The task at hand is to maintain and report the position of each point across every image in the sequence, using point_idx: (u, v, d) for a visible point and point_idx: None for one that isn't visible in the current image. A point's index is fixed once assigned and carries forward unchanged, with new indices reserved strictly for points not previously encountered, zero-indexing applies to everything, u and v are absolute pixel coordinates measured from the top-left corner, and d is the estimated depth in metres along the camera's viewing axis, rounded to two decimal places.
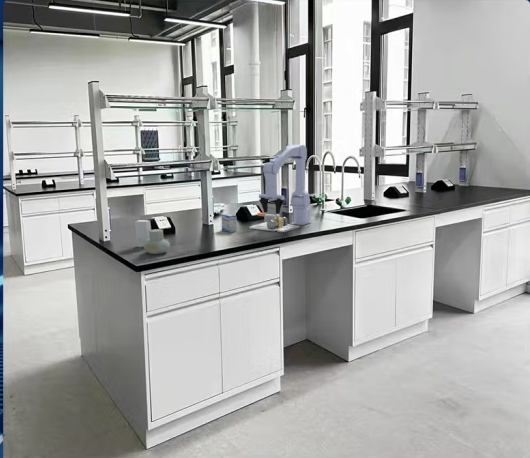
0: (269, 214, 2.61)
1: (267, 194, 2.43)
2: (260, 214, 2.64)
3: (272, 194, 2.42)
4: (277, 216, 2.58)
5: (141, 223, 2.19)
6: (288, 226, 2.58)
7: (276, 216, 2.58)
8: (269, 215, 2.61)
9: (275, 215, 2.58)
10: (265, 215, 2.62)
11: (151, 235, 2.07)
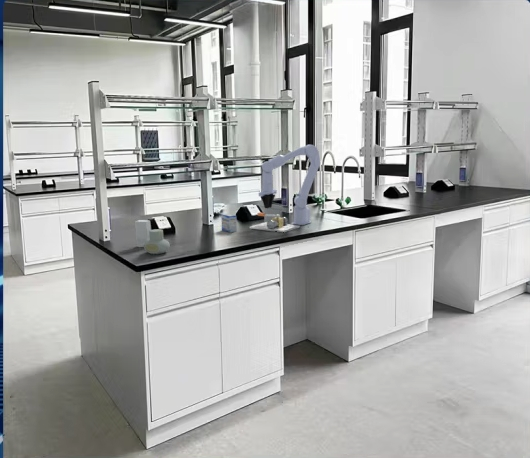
0: (269, 214, 2.61)
1: None
2: (260, 214, 2.64)
3: None
4: (277, 216, 2.58)
5: (141, 223, 2.19)
6: (288, 226, 2.58)
7: (276, 216, 2.58)
8: (269, 215, 2.61)
9: (275, 215, 2.58)
10: (265, 215, 2.62)
11: (151, 235, 2.07)
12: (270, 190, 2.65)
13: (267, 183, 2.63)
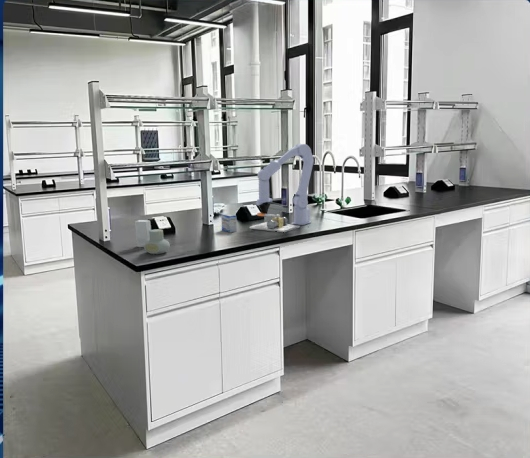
0: (269, 214, 2.61)
1: None
2: (260, 214, 2.64)
3: (259, 198, 2.64)
4: (277, 216, 2.58)
5: (141, 223, 2.19)
6: (288, 226, 2.58)
7: (276, 216, 2.58)
8: (269, 215, 2.61)
9: (275, 215, 2.58)
10: (265, 215, 2.62)
11: (151, 235, 2.07)
12: (267, 198, 2.62)
13: (264, 191, 2.61)
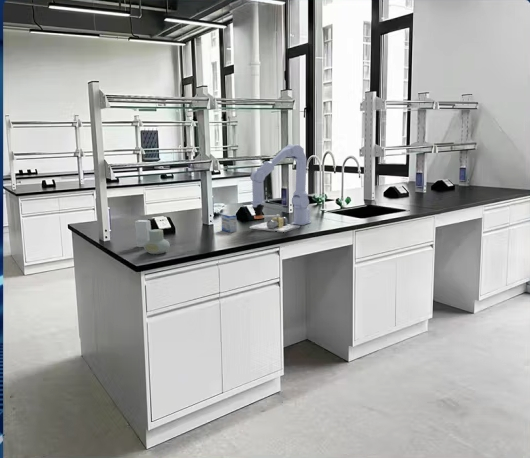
0: (268, 215, 2.58)
1: None
2: (258, 217, 2.56)
3: (253, 200, 2.56)
4: (279, 216, 2.58)
5: (141, 223, 2.19)
6: (288, 226, 2.58)
7: (278, 216, 2.58)
8: (269, 216, 2.57)
9: (277, 215, 2.57)
10: (264, 217, 2.57)
11: (151, 235, 2.07)
12: (262, 200, 2.56)
13: (259, 193, 2.54)
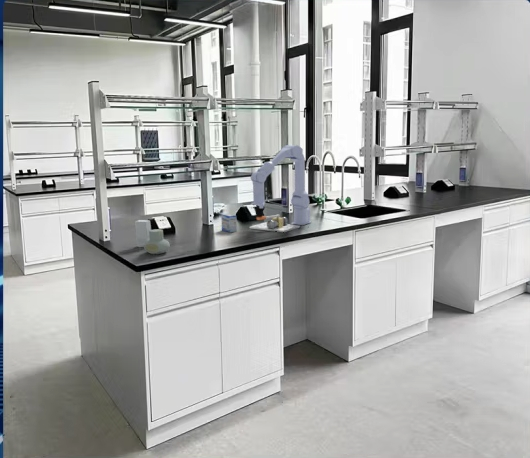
0: (269, 216, 2.56)
1: None
2: (262, 218, 2.52)
3: (255, 202, 2.52)
4: (279, 216, 2.58)
5: (141, 223, 2.19)
6: (288, 226, 2.58)
7: (279, 216, 2.58)
8: (270, 217, 2.56)
9: (278, 215, 2.57)
10: None
11: (151, 235, 2.07)
12: None
13: (261, 194, 2.51)
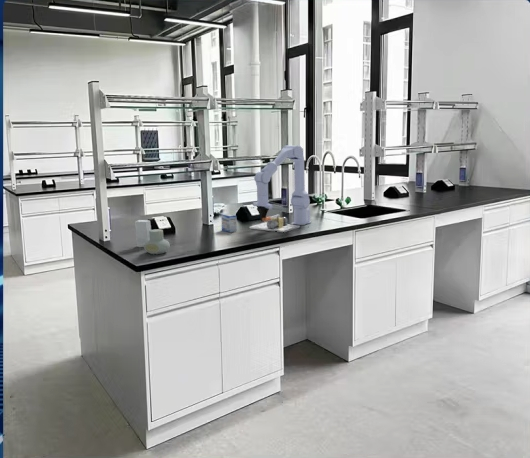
0: (272, 216, 2.54)
1: (258, 202, 2.49)
2: (268, 218, 2.50)
3: (262, 203, 2.48)
4: (279, 216, 2.59)
5: (141, 223, 2.19)
6: (288, 226, 2.58)
7: (279, 216, 2.58)
8: (273, 217, 2.55)
9: (279, 215, 2.58)
10: (270, 218, 2.52)
11: (151, 235, 2.07)
12: None
13: (266, 195, 2.47)
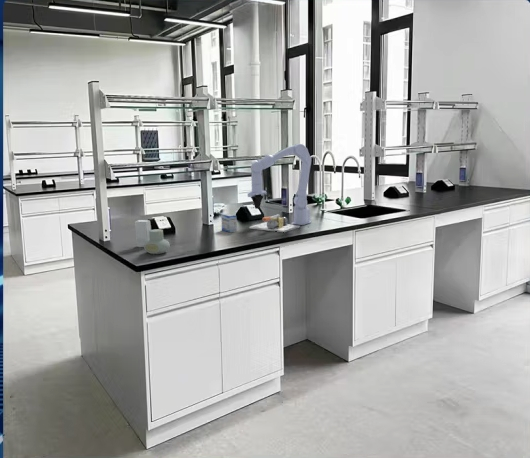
0: (272, 216, 2.54)
1: None
2: (268, 218, 2.50)
3: None
4: (279, 216, 2.59)
5: (141, 223, 2.19)
6: (288, 226, 2.58)
7: (279, 216, 2.58)
8: (273, 217, 2.55)
9: (279, 215, 2.58)
10: (270, 218, 2.52)
11: (151, 235, 2.07)
12: (259, 191, 2.63)
13: (256, 184, 2.62)
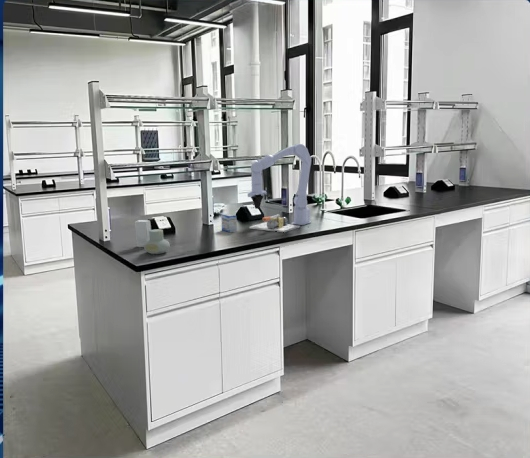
0: (272, 216, 2.54)
1: None
2: (268, 218, 2.50)
3: None
4: (279, 216, 2.59)
5: (141, 223, 2.19)
6: (288, 226, 2.58)
7: (279, 216, 2.58)
8: (273, 217, 2.55)
9: (279, 215, 2.58)
10: (270, 218, 2.52)
11: (151, 235, 2.07)
12: (259, 191, 2.63)
13: (256, 184, 2.62)
